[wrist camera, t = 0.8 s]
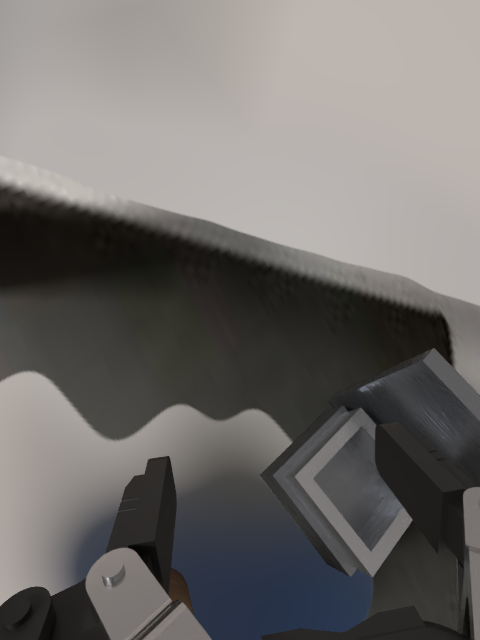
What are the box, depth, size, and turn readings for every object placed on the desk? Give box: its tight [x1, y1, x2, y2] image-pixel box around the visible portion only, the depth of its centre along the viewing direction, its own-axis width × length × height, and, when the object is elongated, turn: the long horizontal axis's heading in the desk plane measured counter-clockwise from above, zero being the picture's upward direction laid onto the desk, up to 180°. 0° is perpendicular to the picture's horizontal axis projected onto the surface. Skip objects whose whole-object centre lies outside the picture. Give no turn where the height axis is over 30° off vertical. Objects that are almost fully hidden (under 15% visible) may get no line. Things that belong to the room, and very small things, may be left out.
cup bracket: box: [260, 348, 480, 577], centre depth 25 cm, size 10×12×14 cm
